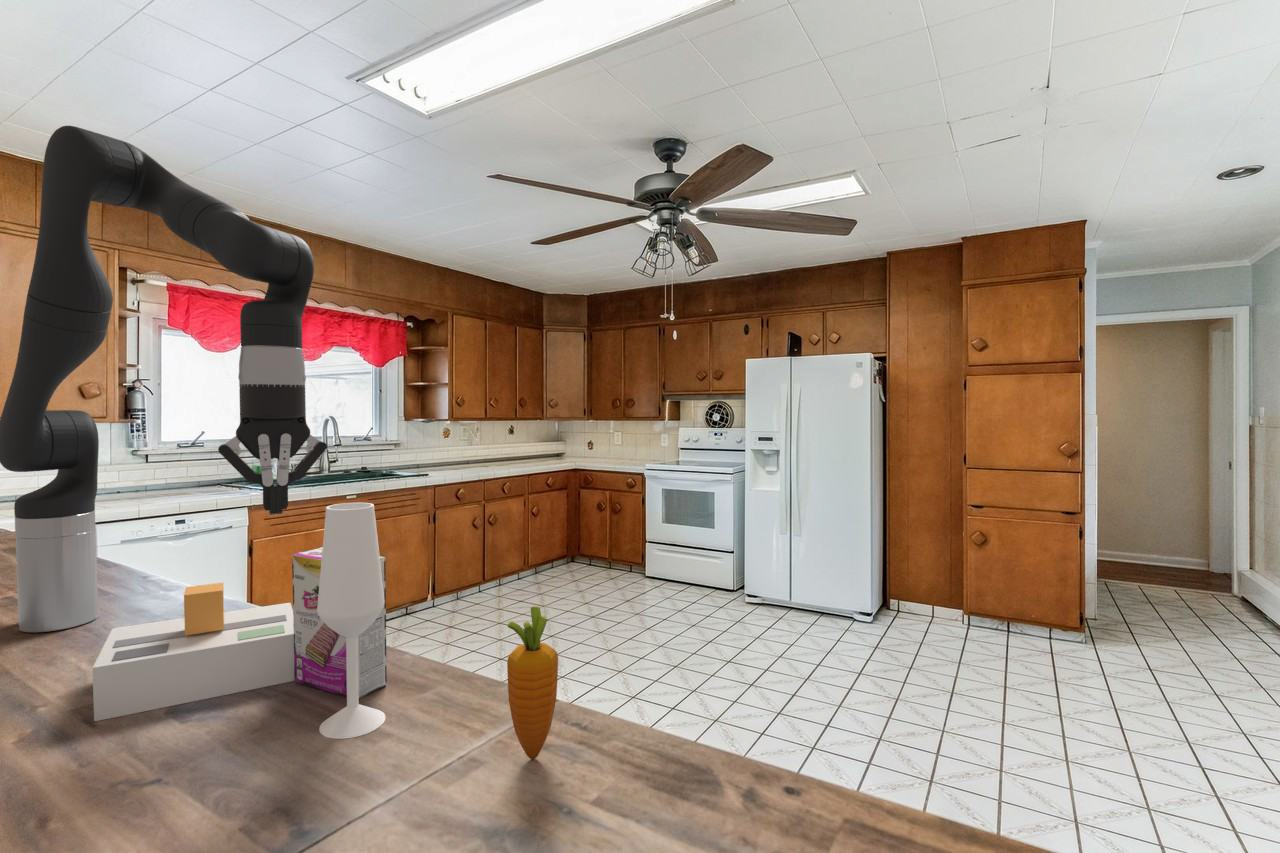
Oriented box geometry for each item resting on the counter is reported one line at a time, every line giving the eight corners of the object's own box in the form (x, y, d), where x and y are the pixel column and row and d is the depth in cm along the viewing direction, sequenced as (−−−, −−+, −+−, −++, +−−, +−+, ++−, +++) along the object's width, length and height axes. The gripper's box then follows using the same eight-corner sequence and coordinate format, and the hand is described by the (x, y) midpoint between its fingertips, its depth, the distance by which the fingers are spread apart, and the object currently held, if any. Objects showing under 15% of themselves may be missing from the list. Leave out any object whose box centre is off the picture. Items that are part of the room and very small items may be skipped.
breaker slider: (186, 625, 82) (185, 587, 82) (224, 620, 84) (223, 582, 84) (184, 635, 78) (183, 595, 78) (223, 629, 81) (222, 590, 80)
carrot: (535, 779, 60) (535, 622, 60) (496, 763, 63) (496, 612, 62) (568, 755, 64) (568, 608, 64) (530, 740, 67) (530, 599, 66)
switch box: (114, 674, 82) (112, 627, 82) (291, 643, 93) (290, 601, 93) (94, 721, 70) (92, 667, 70) (299, 679, 81) (299, 632, 81)
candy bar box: (291, 684, 80) (289, 553, 79) (325, 668, 84) (324, 545, 84) (356, 702, 75) (354, 564, 74) (389, 685, 80) (388, 555, 79)
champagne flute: (334, 746, 66) (330, 514, 65) (309, 723, 70) (305, 506, 69) (396, 722, 71) (394, 506, 70) (369, 702, 75) (367, 499, 74)
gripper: (325, 383, 91) (327, 505, 92) (213, 382, 84) (216, 513, 85) (332, 382, 85) (334, 513, 85) (211, 381, 77) (215, 523, 78)
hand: (275, 513), depth 85 cm, fingers closed
